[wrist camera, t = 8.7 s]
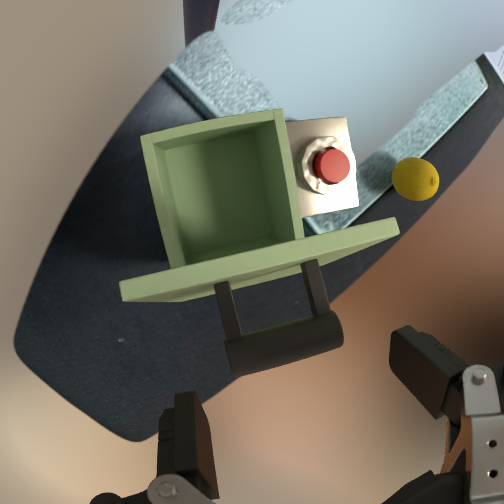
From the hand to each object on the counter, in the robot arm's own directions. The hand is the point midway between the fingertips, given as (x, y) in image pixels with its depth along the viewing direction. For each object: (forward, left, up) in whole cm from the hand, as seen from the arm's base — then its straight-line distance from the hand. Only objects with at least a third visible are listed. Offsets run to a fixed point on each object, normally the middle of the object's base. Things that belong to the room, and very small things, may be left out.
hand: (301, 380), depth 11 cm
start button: (-6, +12, -22) cm, 26 cm away
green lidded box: (-5, 0, -26) cm, 26 cm away
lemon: (-3, +24, -26) cm, 35 cm away
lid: (-2, 0, -9) cm, 9 cm away
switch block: (-6, +12, -26) cm, 29 cm away
